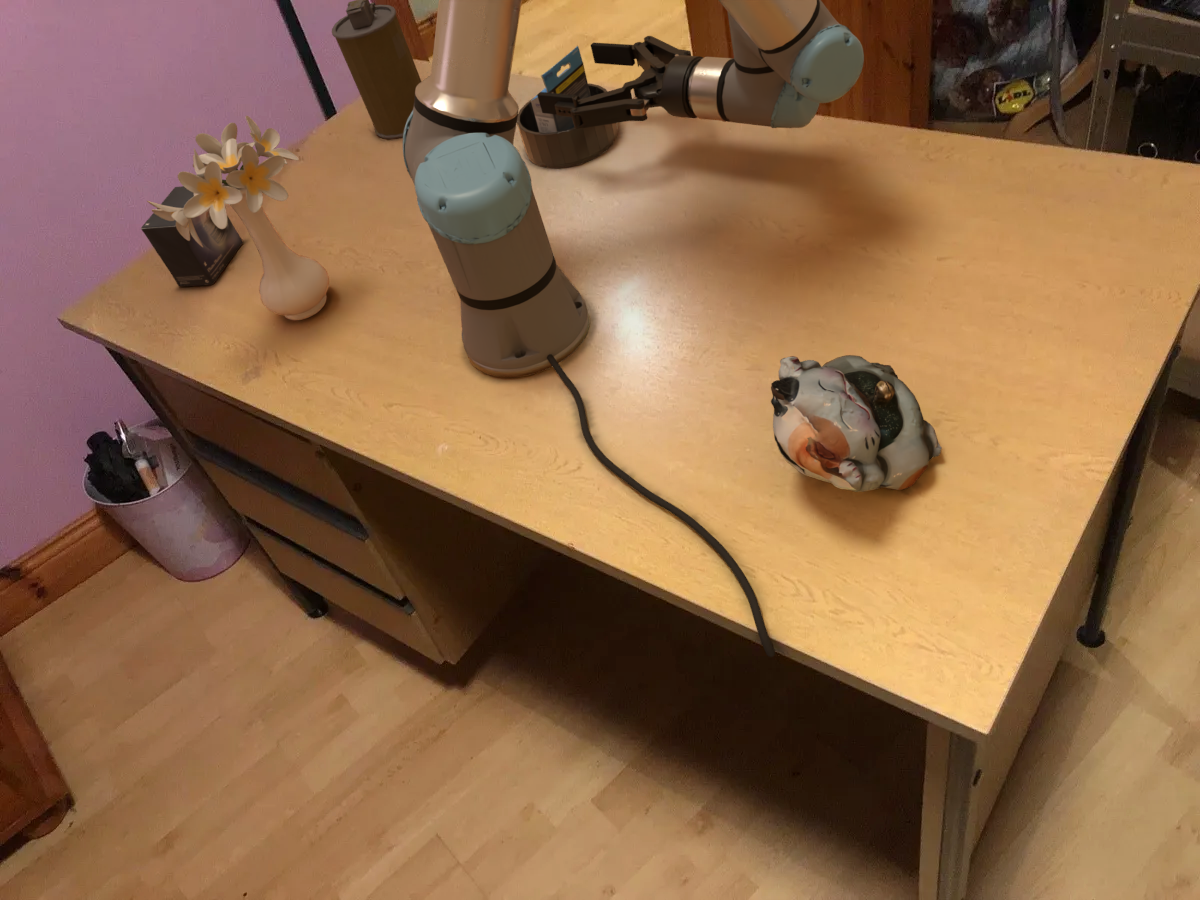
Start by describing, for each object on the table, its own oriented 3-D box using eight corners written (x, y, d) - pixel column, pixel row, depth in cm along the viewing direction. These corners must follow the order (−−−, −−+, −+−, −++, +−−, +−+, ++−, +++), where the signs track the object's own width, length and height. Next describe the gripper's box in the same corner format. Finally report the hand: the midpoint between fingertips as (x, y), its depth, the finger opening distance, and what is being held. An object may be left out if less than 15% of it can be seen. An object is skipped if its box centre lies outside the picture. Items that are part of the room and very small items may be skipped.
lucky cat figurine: (962, 481, 84) (922, 437, 73) (841, 538, 89) (786, 505, 78) (893, 347, 91) (846, 289, 80) (783, 407, 96) (725, 359, 85)
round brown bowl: (637, 126, 140) (629, 92, 136) (573, 177, 134) (563, 142, 130) (571, 110, 148) (562, 76, 144) (508, 156, 143) (497, 123, 139)
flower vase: (226, 345, 126) (114, 183, 108) (315, 261, 135) (226, 99, 117) (292, 364, 119) (185, 196, 102) (381, 274, 129) (298, 105, 111)
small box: (215, 286, 137) (176, 225, 129) (178, 288, 139) (137, 229, 131) (246, 241, 143) (210, 181, 136) (210, 244, 145) (172, 185, 138)
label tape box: (578, 120, 144) (557, 42, 135) (599, 123, 142) (579, 44, 133) (544, 152, 140) (520, 73, 131) (565, 156, 138) (542, 76, 129)
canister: (430, 131, 154) (382, 9, 140) (371, 144, 156) (317, 25, 141) (438, 99, 161) (393, -20, 147) (381, 112, 163) (331, -5, 149)
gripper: (658, 167, 118) (525, 149, 129) (747, 67, 130) (619, 58, 141) (646, 112, 113) (509, 98, 124) (741, 12, 125) (608, 8, 136)
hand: (568, 77), depth 132 cm, fingers open, 13 cm apart
